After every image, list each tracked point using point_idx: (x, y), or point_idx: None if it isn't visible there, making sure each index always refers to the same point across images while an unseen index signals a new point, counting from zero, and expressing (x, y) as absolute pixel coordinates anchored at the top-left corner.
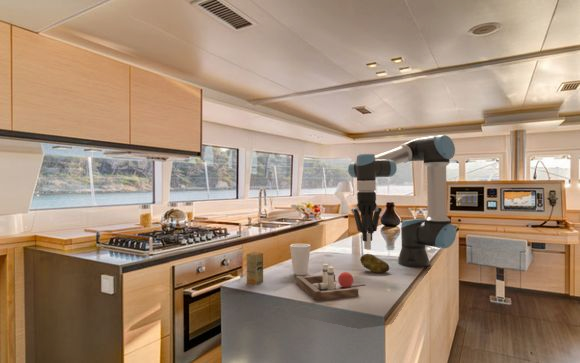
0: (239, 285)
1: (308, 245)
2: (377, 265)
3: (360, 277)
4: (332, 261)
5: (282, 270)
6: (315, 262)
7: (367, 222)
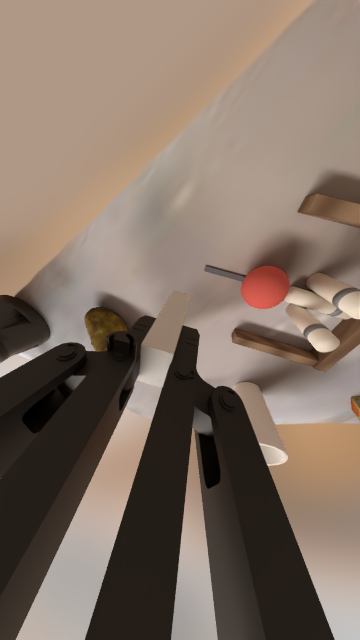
0: None
1: None
2: (111, 324)
3: None
4: (148, 396)
5: None
6: None
7: (78, 501)
